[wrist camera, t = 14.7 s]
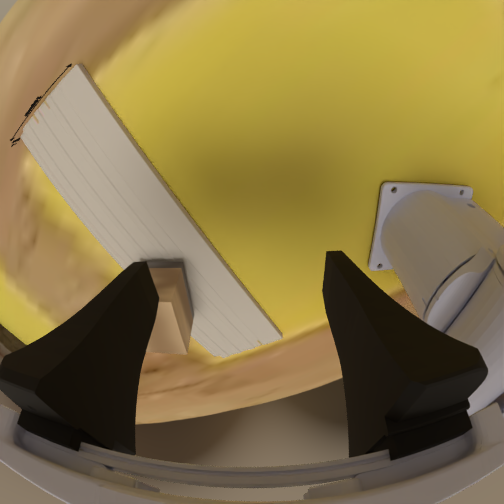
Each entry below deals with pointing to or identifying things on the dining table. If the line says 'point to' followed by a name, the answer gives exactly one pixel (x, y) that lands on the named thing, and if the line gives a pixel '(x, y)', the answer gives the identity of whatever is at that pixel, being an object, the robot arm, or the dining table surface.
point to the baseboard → (137, 209)
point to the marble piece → (8, 343)
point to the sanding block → (171, 309)
